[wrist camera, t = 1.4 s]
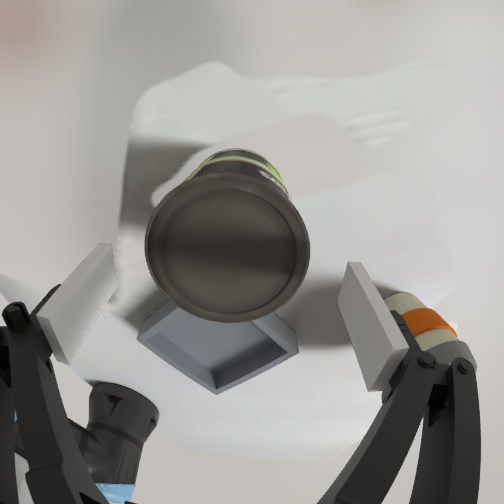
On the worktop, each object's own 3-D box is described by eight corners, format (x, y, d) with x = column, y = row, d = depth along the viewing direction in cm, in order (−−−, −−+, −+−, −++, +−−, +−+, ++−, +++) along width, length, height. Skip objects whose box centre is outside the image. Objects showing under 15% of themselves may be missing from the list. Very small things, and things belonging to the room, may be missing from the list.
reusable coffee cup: (339, 323, 38) (368, 412, 24) (408, 264, 34) (467, 340, 20) (380, 357, 42) (410, 430, 28) (439, 309, 38) (484, 376, 24)
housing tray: (218, 375, 43) (216, 394, 39) (144, 320, 38) (136, 339, 34) (295, 332, 38) (299, 352, 35) (220, 259, 33) (216, 278, 30)
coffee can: (261, 131, 27) (271, 143, 14) (298, 219, 31) (330, 294, 18) (171, 173, 29) (114, 220, 16) (214, 253, 33) (194, 339, 20)
